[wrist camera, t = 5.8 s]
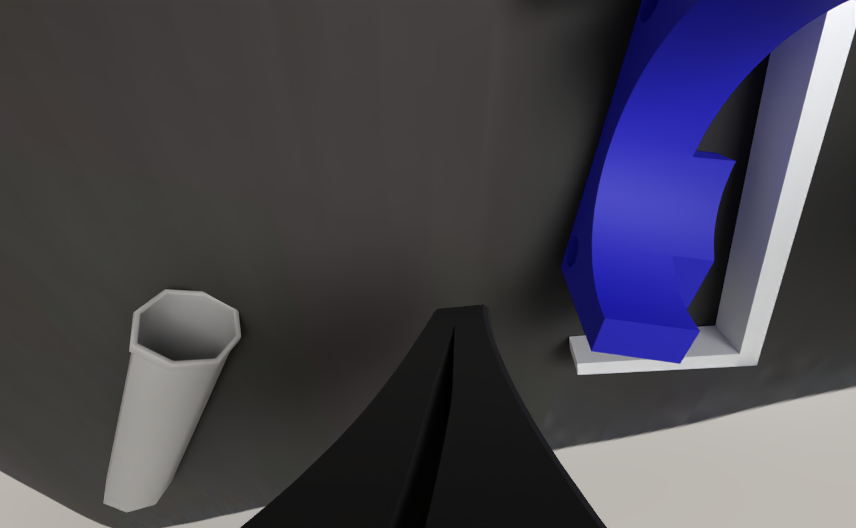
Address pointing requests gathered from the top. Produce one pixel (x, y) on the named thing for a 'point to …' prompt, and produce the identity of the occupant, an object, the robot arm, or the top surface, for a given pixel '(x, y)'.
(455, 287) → the top surface
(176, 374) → the tube
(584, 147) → the top surface
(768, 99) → the bracket
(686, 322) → the cable clip
